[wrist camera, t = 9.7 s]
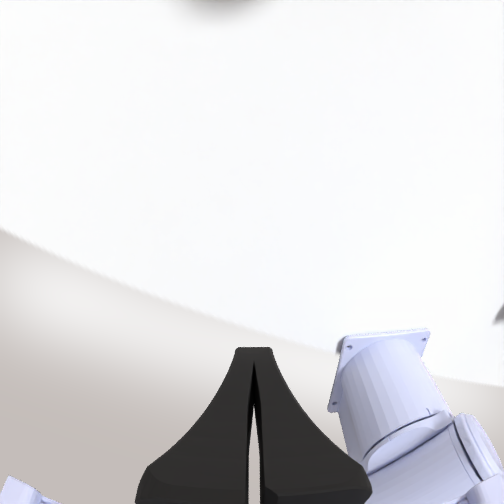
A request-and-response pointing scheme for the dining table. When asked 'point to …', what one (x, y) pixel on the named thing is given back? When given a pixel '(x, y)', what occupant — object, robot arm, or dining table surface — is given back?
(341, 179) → the dining table surface
